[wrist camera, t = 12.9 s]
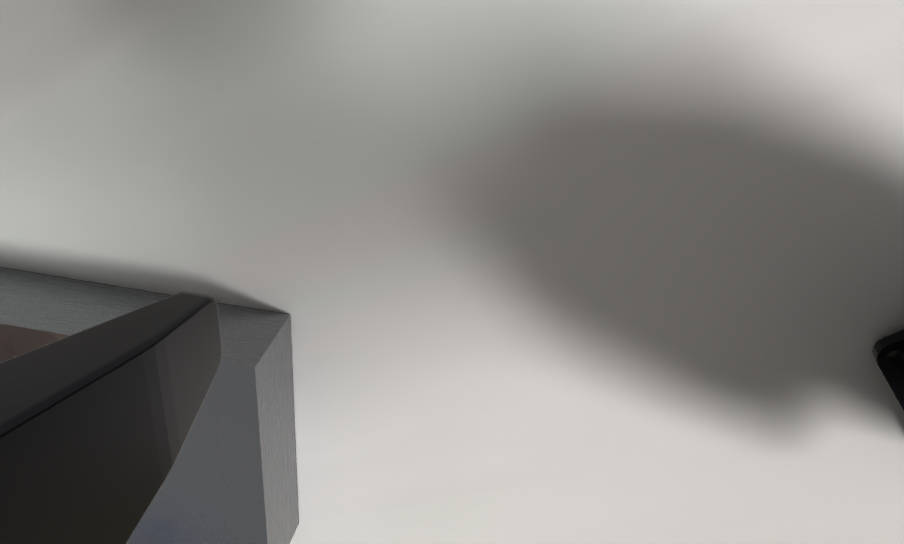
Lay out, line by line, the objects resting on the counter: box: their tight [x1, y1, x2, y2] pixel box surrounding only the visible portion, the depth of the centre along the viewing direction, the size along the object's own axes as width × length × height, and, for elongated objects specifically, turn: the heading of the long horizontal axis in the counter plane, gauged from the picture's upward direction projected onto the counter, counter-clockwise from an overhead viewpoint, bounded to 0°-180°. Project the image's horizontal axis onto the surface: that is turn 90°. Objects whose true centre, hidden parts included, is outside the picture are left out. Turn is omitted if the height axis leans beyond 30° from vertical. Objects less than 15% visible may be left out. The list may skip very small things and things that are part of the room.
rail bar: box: [0, 268, 299, 544], centre depth 28 cm, size 16×10×3 cm, turn 86°
